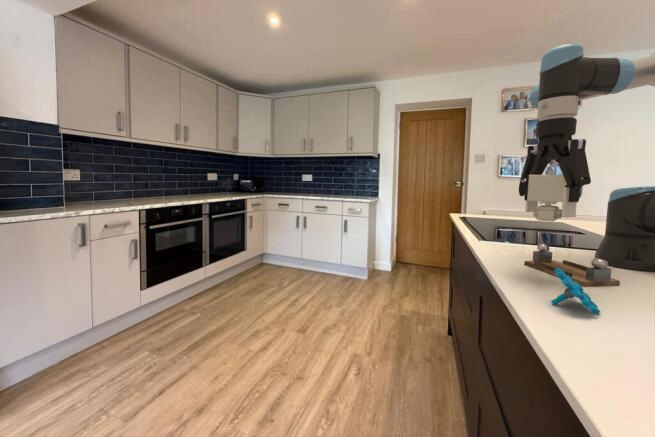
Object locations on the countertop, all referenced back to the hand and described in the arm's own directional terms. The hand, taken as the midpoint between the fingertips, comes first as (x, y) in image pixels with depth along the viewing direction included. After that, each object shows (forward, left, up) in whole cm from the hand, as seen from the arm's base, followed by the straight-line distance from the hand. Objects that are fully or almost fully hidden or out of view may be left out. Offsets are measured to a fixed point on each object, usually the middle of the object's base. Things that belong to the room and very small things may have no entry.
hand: (548, 214), depth 73 cm
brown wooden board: (-12, -6, -17) cm, 21 cm away
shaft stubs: (-12, -5, -16) cm, 20 cm away
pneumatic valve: (0, 0, -2) cm, 2 cm away
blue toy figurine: (+6, +15, -17) cm, 23 cm away
